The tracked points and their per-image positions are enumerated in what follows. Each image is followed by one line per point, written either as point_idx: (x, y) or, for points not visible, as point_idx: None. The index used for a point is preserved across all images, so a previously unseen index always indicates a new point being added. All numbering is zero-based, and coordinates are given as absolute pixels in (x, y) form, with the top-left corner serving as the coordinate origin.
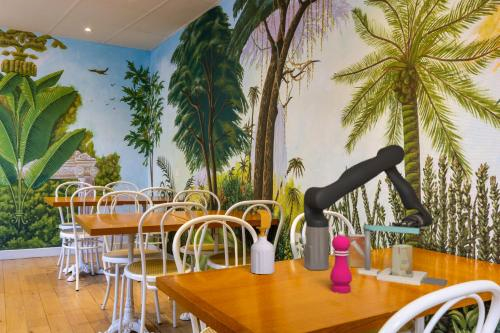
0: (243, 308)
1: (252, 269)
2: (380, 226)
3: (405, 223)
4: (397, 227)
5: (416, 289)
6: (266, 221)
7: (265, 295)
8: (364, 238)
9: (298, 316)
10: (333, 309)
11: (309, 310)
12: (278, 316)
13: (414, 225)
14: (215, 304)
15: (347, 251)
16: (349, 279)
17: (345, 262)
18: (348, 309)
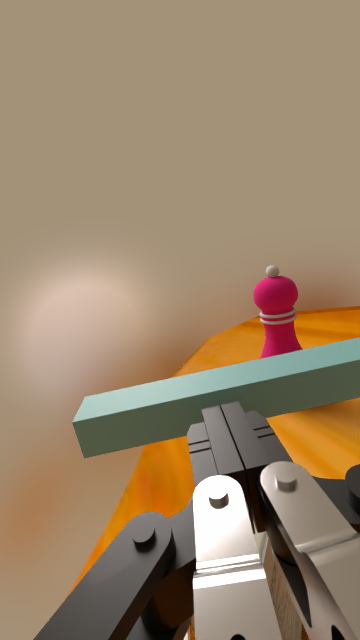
0: (303, 321)
1: None
2: (355, 339)
3: (305, 549)
4: (233, 365)
5: (150, 506)
6: None
7: (338, 336)
8: None
9: (244, 336)
10: (230, 356)
11: (248, 345)
12: (258, 330)
13: (122, 535)
14: (333, 312)
15: (260, 313)
16: None
17: (265, 334)
18: (215, 364)
